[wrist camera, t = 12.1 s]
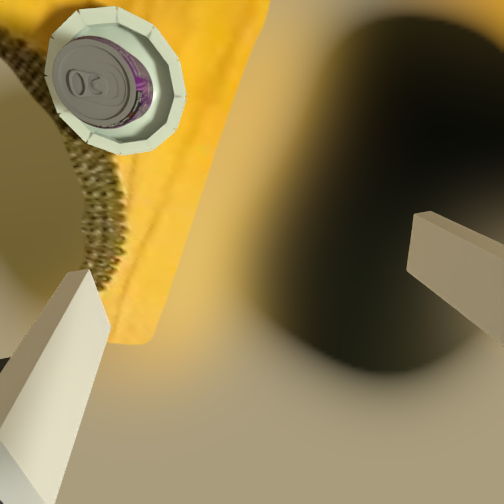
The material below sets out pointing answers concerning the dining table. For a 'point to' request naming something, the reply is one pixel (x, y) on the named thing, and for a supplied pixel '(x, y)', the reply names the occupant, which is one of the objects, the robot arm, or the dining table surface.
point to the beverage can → (101, 82)
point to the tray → (149, 54)
